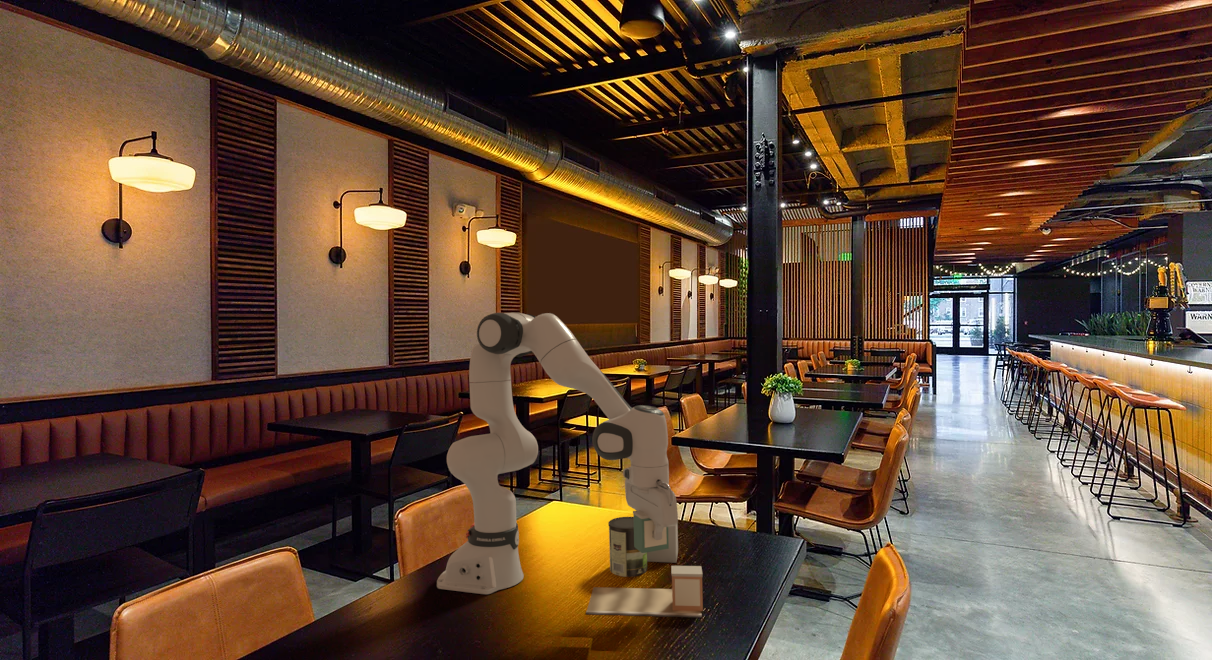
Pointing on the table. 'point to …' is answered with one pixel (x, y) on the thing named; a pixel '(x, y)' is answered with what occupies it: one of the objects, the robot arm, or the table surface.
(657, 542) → the green tin
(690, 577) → the rust tin
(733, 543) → the table surface
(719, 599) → the table surface
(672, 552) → the soap bottle
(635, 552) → the coffee can
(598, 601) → the shelf board
